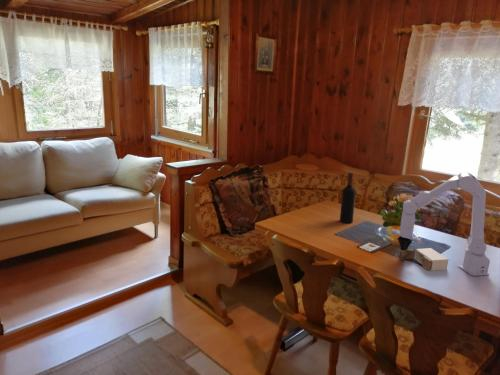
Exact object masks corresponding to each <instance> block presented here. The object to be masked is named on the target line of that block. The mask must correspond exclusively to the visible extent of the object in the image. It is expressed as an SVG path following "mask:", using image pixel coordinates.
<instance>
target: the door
mask: <svg viewBox="0 0 500 375" xmlns="http://www.w3.org/2000/svg"><path fill="white" fill-rule="evenodd" d="M415 255H416V248H412V249H410V248H409V249H407V250H401V249H400V251H399V255H398V257H399V260H400V261H408V260H415V259H414V258H415Z"/></svg>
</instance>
